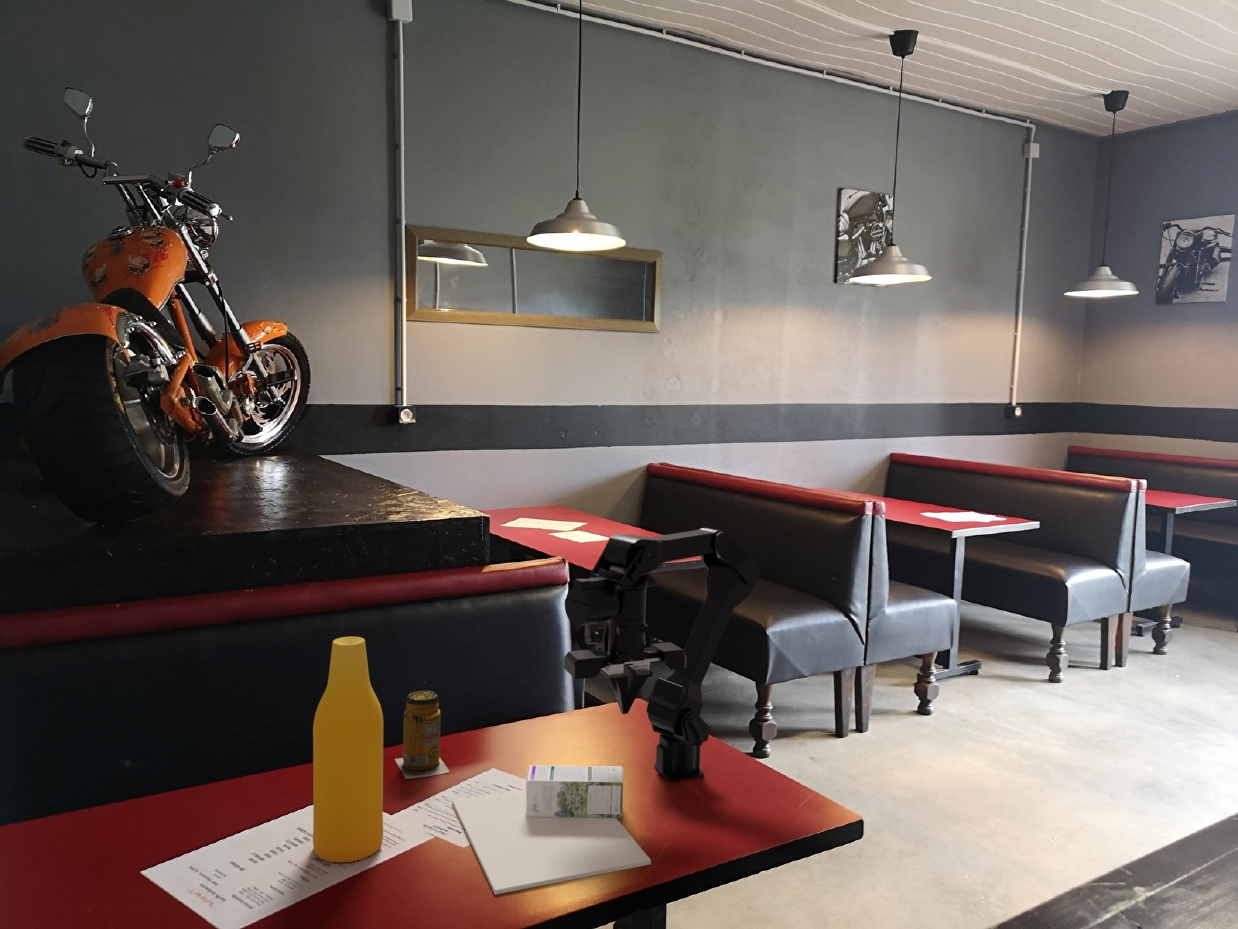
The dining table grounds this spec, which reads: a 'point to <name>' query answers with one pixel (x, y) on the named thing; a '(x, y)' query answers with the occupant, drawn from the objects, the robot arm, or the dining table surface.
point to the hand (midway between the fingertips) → (624, 713)
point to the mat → (542, 843)
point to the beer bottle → (348, 759)
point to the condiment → (421, 737)
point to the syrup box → (574, 791)
